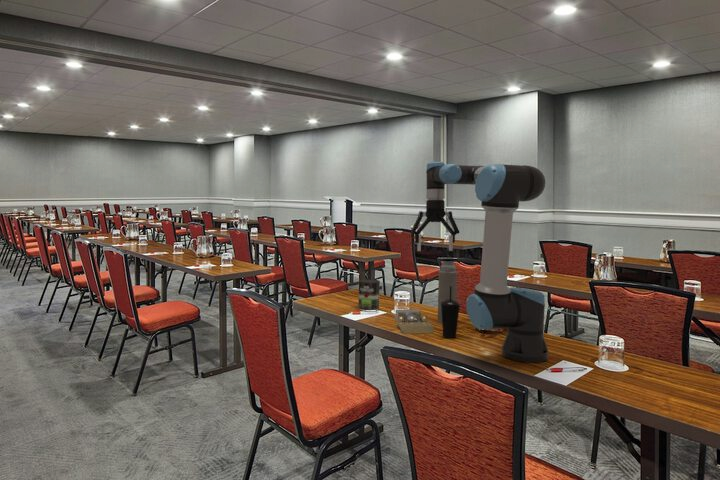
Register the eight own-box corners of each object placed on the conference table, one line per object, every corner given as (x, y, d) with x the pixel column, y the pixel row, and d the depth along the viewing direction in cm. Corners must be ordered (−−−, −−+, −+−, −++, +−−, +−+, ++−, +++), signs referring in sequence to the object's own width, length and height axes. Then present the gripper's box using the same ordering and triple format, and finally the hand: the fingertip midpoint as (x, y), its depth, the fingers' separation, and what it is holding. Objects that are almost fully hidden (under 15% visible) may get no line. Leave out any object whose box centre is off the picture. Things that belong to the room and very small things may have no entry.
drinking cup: (459, 340, 188) (460, 288, 186) (439, 339, 189) (440, 287, 188) (459, 335, 195) (460, 285, 194) (440, 333, 197) (441, 284, 195)
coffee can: (376, 312, 233) (376, 283, 232) (355, 310, 236) (355, 281, 235) (381, 308, 243) (382, 279, 242) (361, 306, 246) (362, 278, 245)
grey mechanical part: (395, 320, 218) (395, 309, 218) (417, 320, 220) (417, 309, 219) (400, 327, 207) (401, 315, 206) (424, 327, 208) (424, 315, 208)
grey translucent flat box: (433, 333, 198) (433, 322, 197) (403, 333, 196) (403, 322, 196) (425, 325, 210) (425, 314, 210) (396, 325, 209) (397, 315, 209)
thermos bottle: (437, 319, 221) (438, 257, 219) (455, 319, 220) (456, 257, 218) (438, 323, 213) (439, 259, 211) (456, 324, 212) (458, 259, 210)
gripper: (461, 200, 210) (460, 249, 211) (404, 199, 206) (403, 250, 207) (467, 199, 202) (466, 251, 203) (408, 199, 199) (407, 251, 200)
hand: (434, 250), depth 205 cm, fingers open, 13 cm apart
